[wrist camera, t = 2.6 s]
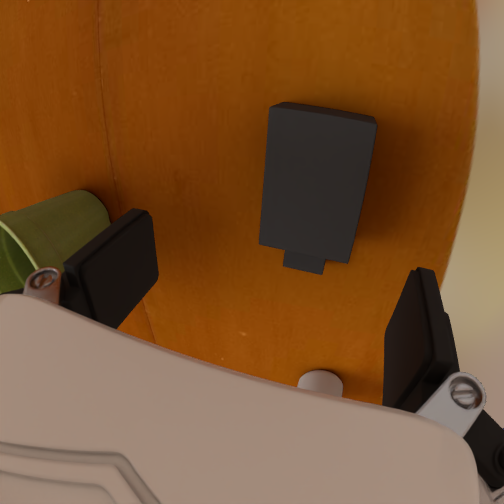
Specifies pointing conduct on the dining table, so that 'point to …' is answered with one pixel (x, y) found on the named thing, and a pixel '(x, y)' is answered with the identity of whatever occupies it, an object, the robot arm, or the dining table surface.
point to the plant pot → (47, 235)
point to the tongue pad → (314, 182)
